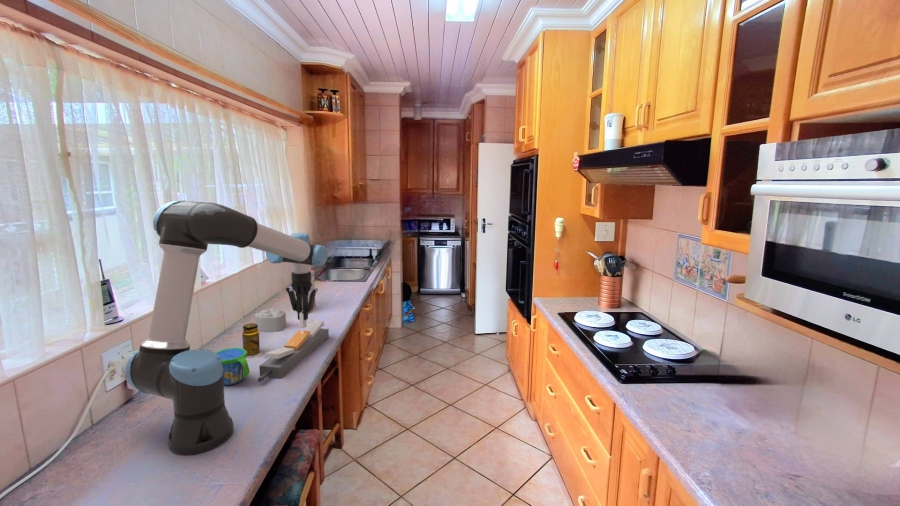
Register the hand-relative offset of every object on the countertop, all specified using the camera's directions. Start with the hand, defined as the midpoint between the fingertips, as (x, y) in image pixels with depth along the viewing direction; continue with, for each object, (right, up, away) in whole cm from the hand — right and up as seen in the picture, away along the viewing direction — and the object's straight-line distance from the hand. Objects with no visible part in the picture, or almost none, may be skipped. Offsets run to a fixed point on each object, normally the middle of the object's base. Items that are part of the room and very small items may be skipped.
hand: (303, 327), depth 168 cm
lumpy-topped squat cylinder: (-25, -5, +25) cm, 36 cm away
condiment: (-21, -10, -3) cm, 23 cm away
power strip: (-1, -11, -6) cm, 13 cm away
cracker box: (-18, -1, +54) cm, 57 cm away
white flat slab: (+1, -3, +9) cm, 9 cm away
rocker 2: (-1, -5, -4) cm, 6 cm away
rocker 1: (-3, -7, -17) cm, 18 cm away
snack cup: (-16, -14, -26) cm, 33 cm away
